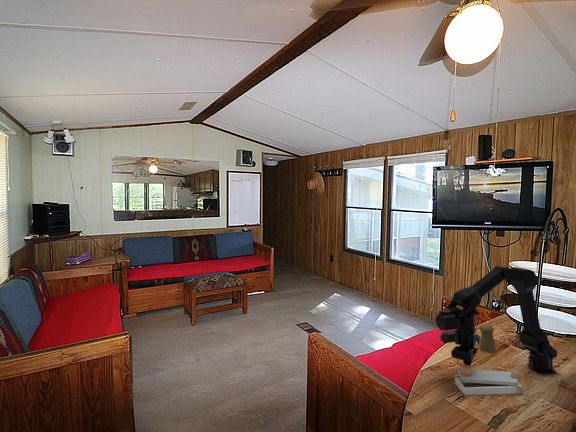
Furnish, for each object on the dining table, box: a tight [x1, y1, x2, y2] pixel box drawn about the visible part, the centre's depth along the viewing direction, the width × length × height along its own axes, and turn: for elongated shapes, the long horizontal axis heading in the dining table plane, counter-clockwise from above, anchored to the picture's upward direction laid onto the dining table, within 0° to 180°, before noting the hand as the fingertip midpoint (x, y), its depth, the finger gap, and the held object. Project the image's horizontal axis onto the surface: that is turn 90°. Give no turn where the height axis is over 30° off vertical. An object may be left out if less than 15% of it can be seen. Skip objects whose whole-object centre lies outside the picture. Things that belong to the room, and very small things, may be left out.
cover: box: [457, 363, 520, 386], centre depth 112 cm, size 18×7×4 cm, turn 74°
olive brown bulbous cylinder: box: [479, 323, 497, 354], centre depth 140 cm, size 6×6×11 cm
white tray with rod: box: [454, 376, 524, 397], centre depth 111 cm, size 19×7×2 cm, turn 86°
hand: (467, 368), depth 117 cm, fingers closed
